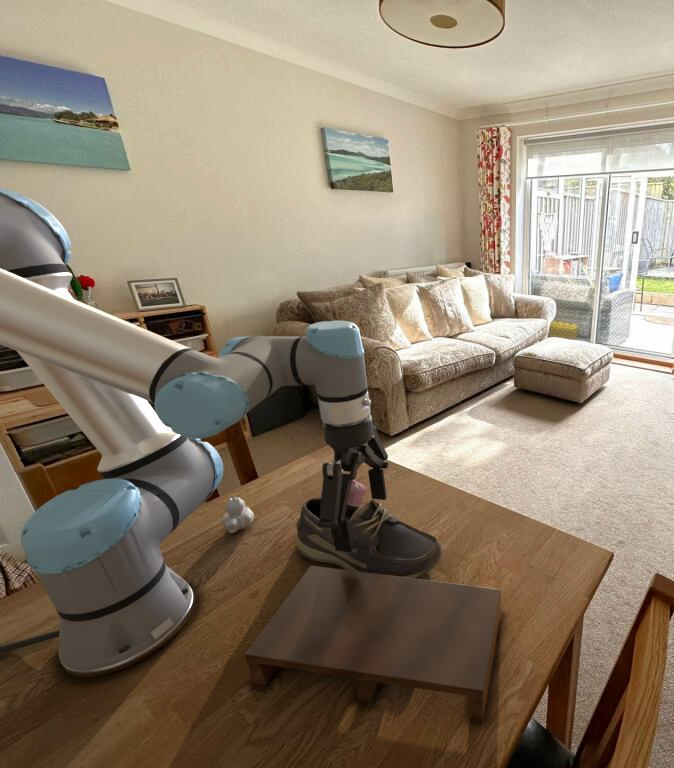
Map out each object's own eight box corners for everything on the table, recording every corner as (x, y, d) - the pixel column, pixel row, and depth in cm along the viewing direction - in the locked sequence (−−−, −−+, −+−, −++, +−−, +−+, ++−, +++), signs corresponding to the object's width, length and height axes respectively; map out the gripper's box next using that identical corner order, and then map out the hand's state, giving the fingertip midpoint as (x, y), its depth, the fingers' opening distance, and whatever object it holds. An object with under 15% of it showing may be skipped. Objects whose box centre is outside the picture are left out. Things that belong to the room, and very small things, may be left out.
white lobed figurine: (261, 516, 86) (253, 485, 83) (247, 538, 80) (238, 505, 77) (233, 518, 85) (224, 487, 82) (217, 541, 79) (207, 508, 76)
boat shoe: (428, 596, 69) (424, 547, 65) (278, 565, 74) (266, 519, 70) (449, 549, 79) (447, 505, 75) (316, 525, 84) (308, 482, 80)
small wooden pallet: (254, 683, 55) (244, 654, 53) (316, 591, 69) (310, 565, 67) (482, 720, 52) (482, 690, 50) (500, 616, 66) (501, 589, 64)
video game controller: (365, 512, 90) (370, 481, 91) (353, 516, 86) (359, 483, 86) (327, 504, 92) (331, 474, 93) (313, 509, 88) (318, 476, 88)
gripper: (326, 461, 53) (348, 580, 61) (398, 389, 76) (408, 482, 84) (274, 456, 54) (302, 574, 62) (361, 387, 77) (373, 479, 85)
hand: (363, 522), depth 73 cm, fingers open, 13 cm apart
